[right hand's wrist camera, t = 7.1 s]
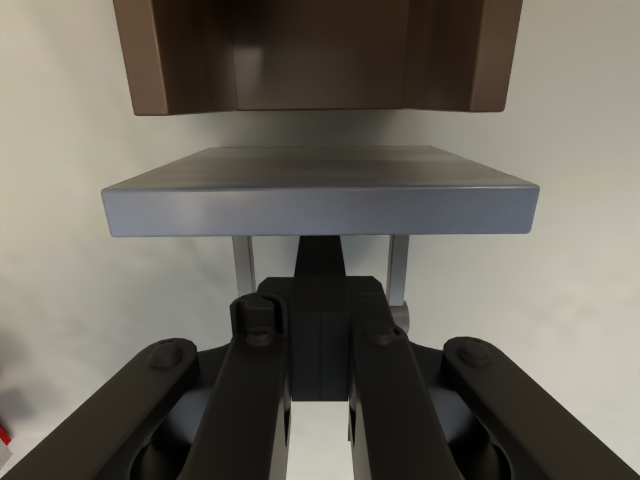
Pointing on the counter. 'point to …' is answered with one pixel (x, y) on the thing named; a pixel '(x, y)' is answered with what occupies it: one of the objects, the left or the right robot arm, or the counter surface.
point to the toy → (4, 448)
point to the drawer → (319, 94)
